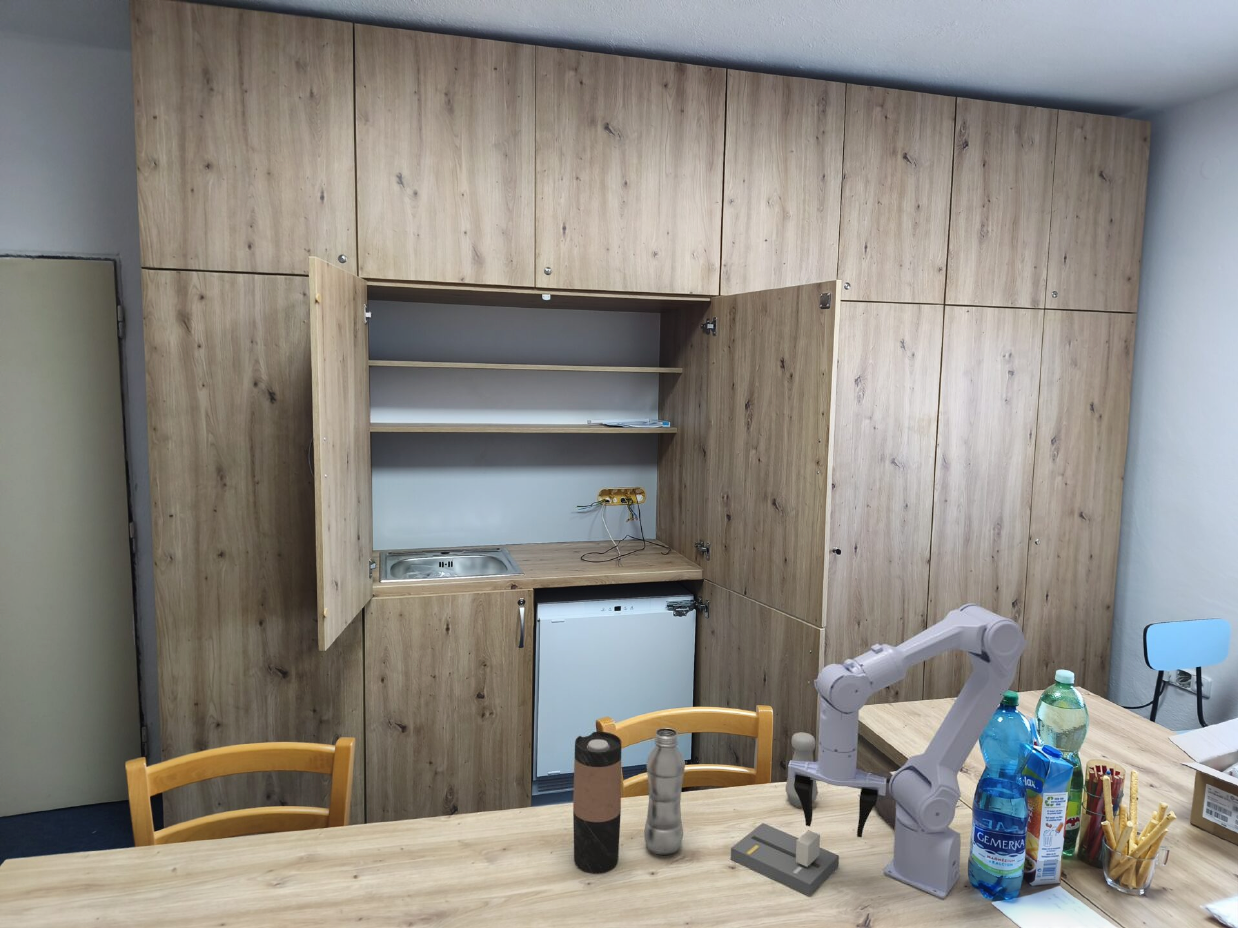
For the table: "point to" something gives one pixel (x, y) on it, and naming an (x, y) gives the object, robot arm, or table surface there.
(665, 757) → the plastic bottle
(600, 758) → the travel mug
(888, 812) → the perforated stone tool
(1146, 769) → the table surface
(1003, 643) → the robot arm
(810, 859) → the fader tab
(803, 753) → the salt shaker
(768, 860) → the console board
